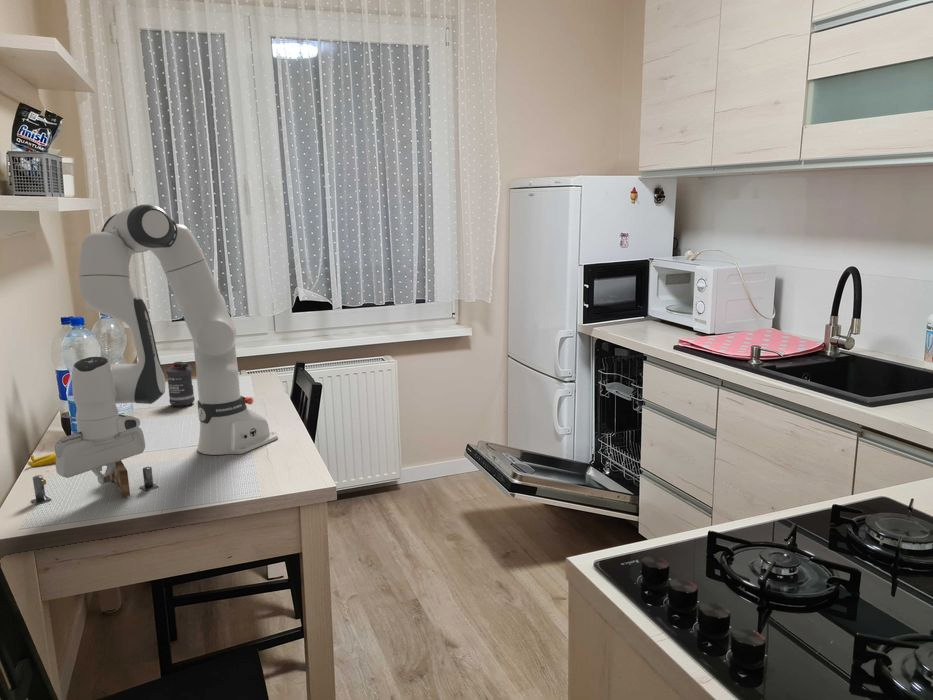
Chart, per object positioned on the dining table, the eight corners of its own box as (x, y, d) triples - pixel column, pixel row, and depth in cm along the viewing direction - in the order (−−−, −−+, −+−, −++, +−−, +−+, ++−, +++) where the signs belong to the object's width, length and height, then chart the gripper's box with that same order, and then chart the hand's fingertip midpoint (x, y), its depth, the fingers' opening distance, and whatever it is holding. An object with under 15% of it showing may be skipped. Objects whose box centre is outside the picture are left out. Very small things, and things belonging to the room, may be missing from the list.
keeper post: (152, 483, 172) (150, 464, 171) (158, 486, 170) (156, 467, 169) (139, 487, 170) (137, 468, 169) (145, 491, 168) (143, 471, 167)
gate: (113, 478, 174) (110, 455, 173) (120, 477, 175) (117, 454, 174) (122, 497, 163) (119, 472, 162) (130, 495, 164) (127, 470, 163)
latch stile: (45, 496, 165) (42, 473, 164) (51, 500, 163) (47, 476, 162) (31, 501, 163) (27, 477, 162) (36, 504, 161) (32, 480, 160)
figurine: (31, 447, 191) (103, 432, 198) (35, 462, 192) (107, 446, 199) (24, 463, 179) (101, 446, 186) (28, 479, 180) (105, 462, 187)
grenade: (200, 403, 242) (196, 361, 239) (181, 409, 235) (177, 366, 232) (183, 400, 246) (179, 359, 243) (164, 406, 239) (160, 363, 236)
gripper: (61, 442, 152) (69, 500, 155) (146, 417, 169) (151, 470, 172) (45, 437, 156) (53, 494, 159) (130, 413, 173) (136, 465, 176)
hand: (105, 482), depth 166 cm, fingers closed
